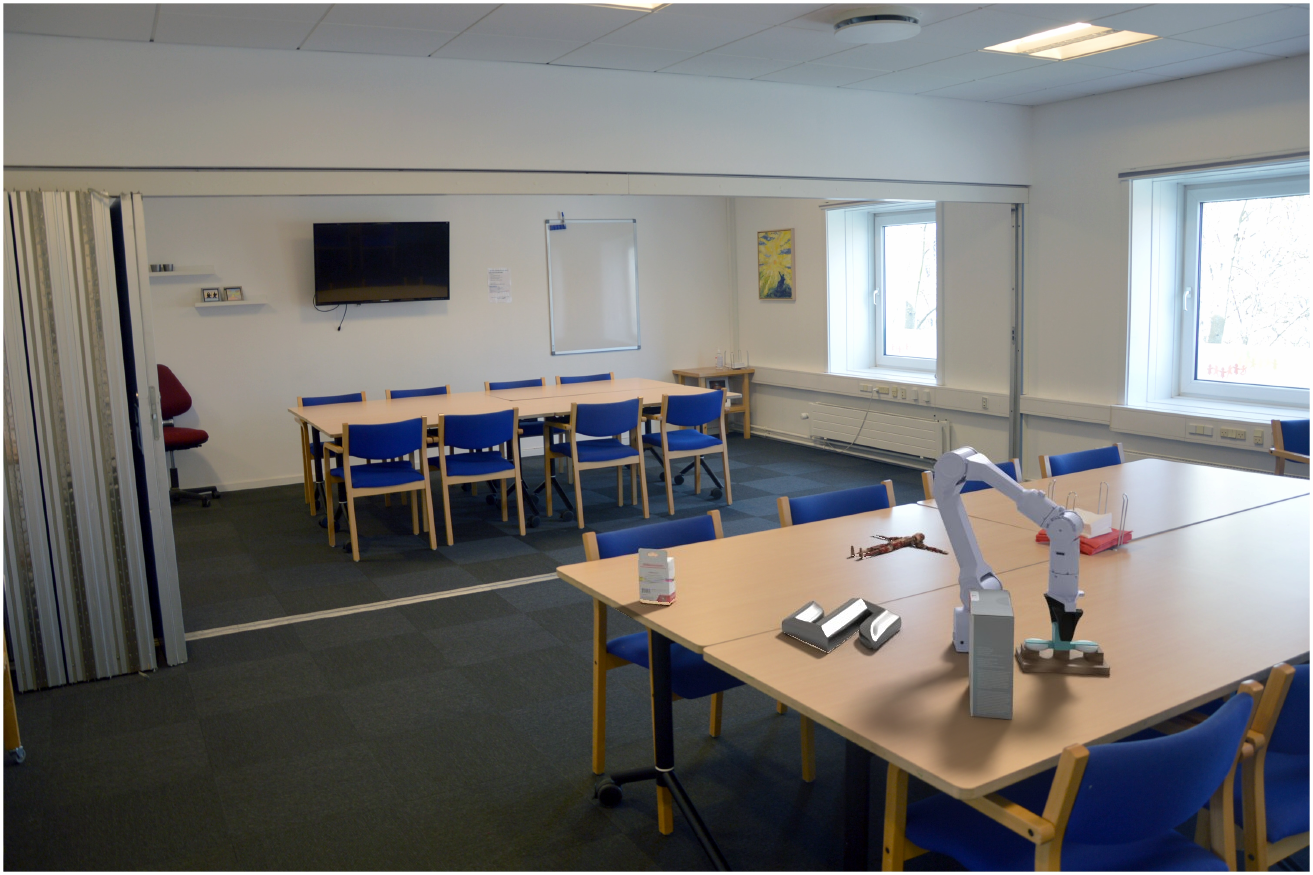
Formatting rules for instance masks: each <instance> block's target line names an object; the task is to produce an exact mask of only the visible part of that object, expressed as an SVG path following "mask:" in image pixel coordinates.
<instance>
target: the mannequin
mask: <svg viewBox="0 0 1313 875" xmlns="http://www.w3.org/2000/svg"><path fill="white" fill-rule="evenodd" d="M876 536H879V537H882V538H885V539H888V540H892V541H887V543H880V544H877V545H873V546H870V547H867V548H864V549H863V548H862V547H860V548H859V552H856V553H855V547H854V546H853V545H851V546H850V556H851V555H854V556H855V554H859V556H858V558H859V557H861V558H863V556H864V557H866V556H874V555H877V554H879V553H881V554H886V553H885V552H887V553H890V552H889V551H891V552H893V550H894V551H896V550H895V549H897V550H899V549H900V547H902V548H903V546H904V547H908V545H910V546H914V547H916V548H918V547H919V548H918V549H921V548H923V549H922V550H925V549H927V550H926V551H929V550H932V551H931V552H933V551H935V552H934V553H938V552H940V554H944V555H949V552H948V551H947V550H946V551H945V550H943V549H940V548H938V547H933V546H928V545H927V544H925V543H923V541H924V540H925V539H926V535H925V534H924V533H923V532H916V533H914V534H913V535H911V536H909V535H906V536H891V537H890V536H884V535H879V534H878V535H877V534H876ZM920 541H921V542H920ZM911 544H912V545H911ZM898 548H899V549H898ZM871 551H872V552H871ZM868 552H870V553H868ZM863 553H868V554H865V555H863ZM879 555H880V554H879ZM877 556H878V555H877ZM874 557H875V556H874Z"/></svg>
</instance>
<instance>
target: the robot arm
mask: <svg viewBox="0 0 1313 875" xmlns="http://www.w3.org/2000/svg"><path fill="white" fill-rule="evenodd" d="M932 467H933V471H934V478H933V484H932V485H933V486H932V496H933V498H934V501H935V503H936V506H937V509H938V511H939V515H940V517H941V520H942V523H943V526H944V528H945V531H946V534H947V536H948V539H949V543H950V545H951V548H952V550H953V553H954V556H955V559H956V562H957V564H958V566H959V574H958V578H957V580H958V584H959V588H960V589H959V590H960V591H959V599H960V602H961V604H962V605H963V606H957V607H956V606H955V607H954V608H953V620H952V621H953V624H952V626H953V627H952V628H953V629H952V641H953V644H954V647H955V651H956V652H957V653H969V589H970V588H971V589H972V588H973V589H994V590H1004V587H1003V586H1004V585H1003V583H1002V581H1001V580H1000V579H999V577H998V576H997V575H996V574H995V573H994V571H993V568H992V566H991V565H990V564H988V563H987V562H986V561H985V559H984V556H983V553H982V552H981V549H980V545H979V544H978V543H979V542H978V540H977V538H976V535H975V532H974V529H973V527H972V524H971V522H970V519H969V516H968V513H967V510H966V508H965V505H964V502H963V499H962V497H961V494H960V493H961V490H962V489H963V488H964V486H965V484H966V482H967V481H972V482H973V481H975V482H976V481H978V482H984V483H985V484H988V486H991V487H992V488H993V489H995V490H996V491H998V492H999V493H1001V494H1003V495H1004V496H1006V497H1007V498H1009V499H1010V500H1012V501H1013V502H1014V503H1015V505H1016V510H1017V512H1019V513H1020V514H1022V515H1023V516H1024V517H1026V518H1027V519H1029V521H1032V522H1033V523H1034V524H1036V525H1037V526H1038V527H1039V528H1041V529H1042V530H1045V534H1046V536H1047V538H1048V539H1049V554H1048V555H1049V556H1048V557H1049V558H1048V560H1049V561H1048V583H1047V584H1048V588H1047V590H1046V593H1043V597H1044V599H1045V601H1046V603H1047V606H1048V610H1049V618H1050V622H1051V624H1052V622H1057V623H1058V630H1059V637H1060V640H1061V641H1068V642H1071V641H1073V638H1074V635H1075V631H1076V628H1077V625H1078V623H1079V621H1080V620H1081V618H1082V617H1083V615H1084V609H1082V608H1077V601H1078V600H1079V598H1080V597H1085V596H1086V595H1085V594H1086V593H1085V592H1084V591H1083V590H1080V589H1079V586H1080V584H1079V583H1080V551H1081V550H1080V541H1081V539H1080V537H1079V536H1080V535H1082V533H1083V531H1084V529H1085V528H1084V527H1085V523H1084V521H1083V518H1082V517H1081V515H1079V514H1078V513H1077V511H1075V510H1072V509H1071V510H1070V509H1066V507H1065V506H1063V505H1058V504H1057V503H1056V502H1054V501H1053V500H1052V499H1050V498H1049V497H1047V496H1046V495H1047V493H1046V492H1045V491H1044V490H1042V489H1040V490H1037V489H1036V488H1031V489H1026V488H1025V487H1023V486H1022V485H1021V484H1019V483H1018V482H1017V481H1016V480H1014V479H1013V478H1012V477H1011V476H1009V475H1008V474H1007V473H1005V471H1003V470H1002V469H1001V468H999V467H998V466H997V465H996V464H995V463H993V462H992V461H991V460H990V459H989V458H987V456H986V455H984V454H983V453H981V452H978V451H977V450H976V449H975V448H973V447H971V446H966V445H965V446H961V447H958V448H957V449H953V450H951V451H946V452H944V453H941V455H940V457H939V458H938V459H937V461H936V462H935V464H934V465H933V466H932Z"/></svg>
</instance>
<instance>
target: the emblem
mask: <svg viewBox="0 0 1313 875" xmlns="http://www.w3.org/2000/svg"><path fill="white" fill-rule="evenodd" d="M901 627H902V618H901V616H900V615H899V614H896V613H894V612H892V611H890V610H889V609H888V608H887V609H886V608H885V607H882V606H880V605H877V604H875V603H873V602H871V601H868V600H867V599H864V598H861V597H852V598H850V599H848V600H847V601H846V602H844V603H843V604H841V605H840V606H839V607H837V608H836V609H834V610H832V611H831V612H830V613H828V614H827V615H826V616H825V610H824V608H823V606H821V605H820V604H819V603H817V602H816V601H815V600H811V601H808V602H806V604H805V605H803V606H801V607H800V608H799V609H798V610H796V611H795V612H793V613H791V614H790V615H788V616H787V617H785V618H784V619H782V621H781V632H782V631H783V632H785V633H787V634H789V635H791V636H794V637H796V638H798V639H800V640H802V641H804V642H807V643H809V644H811V645H814V646H816V647H818V648H820V649H822V650H824V651H826V652H829V651H830V650H832V649H833V648H835V647H836V646H837V645H839V644H840V643H842V642H843V641H844V640H846V639H847V638H849V637H850V636H851V635H853V634H854V633H855V632H857V631H858V630H859V631H858V632H857V633H858V639H859V641H860V642H861V643H862V644H863V645H865V646H866V648H869V649H875V650H876V649H878V648H879V647H881V645H883V643H885V642H886V641H887V640H888V639H890V638H891V637H892V636H893V635H894V634H896V633H897V632H898V631H899V630H900V629H901ZM783 632H782V633H783ZM785 633H784V634H785ZM855 634H856V633H855ZM855 634H854V635H855ZM854 635H853V636H854ZM850 638H851V637H850ZM850 638H849V639H850ZM846 641H847V640H846ZM842 644H843V643H842ZM839 646H840V645H839ZM835 649H836V648H835Z"/></svg>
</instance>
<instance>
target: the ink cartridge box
mask: <svg viewBox="0 0 1313 875" xmlns="http://www.w3.org/2000/svg"><path fill="white" fill-rule="evenodd" d="M649 554H654V555H649ZM655 555H656V556H655ZM637 566H638V567H637V568H638V587H639V589H638V590H639V600H640V599H643V600H649V601H658V602H669V603H670V602H671V601H672V600H673V599H675V598H676V597H677V596H676V595H677V594H676V572H675V570H676V569H675V557H671V556H670V557H669V556H668V550H666V549H654V548H643V547H642V548H641V547H640V548H638V560H637Z"/></svg>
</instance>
